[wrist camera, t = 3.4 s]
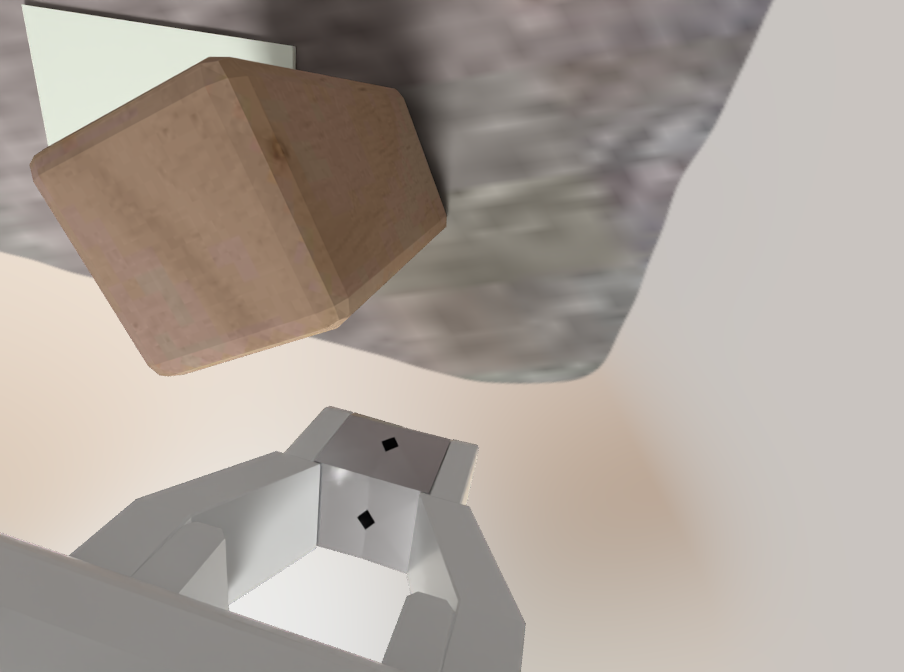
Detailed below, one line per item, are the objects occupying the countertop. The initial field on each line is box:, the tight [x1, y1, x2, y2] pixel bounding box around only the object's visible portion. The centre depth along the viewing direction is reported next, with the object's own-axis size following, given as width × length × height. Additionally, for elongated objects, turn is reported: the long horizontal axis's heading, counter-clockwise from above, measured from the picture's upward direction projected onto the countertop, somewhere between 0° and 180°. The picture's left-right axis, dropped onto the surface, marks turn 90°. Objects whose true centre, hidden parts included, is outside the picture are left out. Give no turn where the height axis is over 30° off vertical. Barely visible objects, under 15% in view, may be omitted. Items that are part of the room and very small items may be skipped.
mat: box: [22, 5, 296, 146], centre depth 39 cm, size 22×16×1 cm
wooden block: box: [30, 57, 447, 376], centre depth 27 cm, size 10×10×20 cm
